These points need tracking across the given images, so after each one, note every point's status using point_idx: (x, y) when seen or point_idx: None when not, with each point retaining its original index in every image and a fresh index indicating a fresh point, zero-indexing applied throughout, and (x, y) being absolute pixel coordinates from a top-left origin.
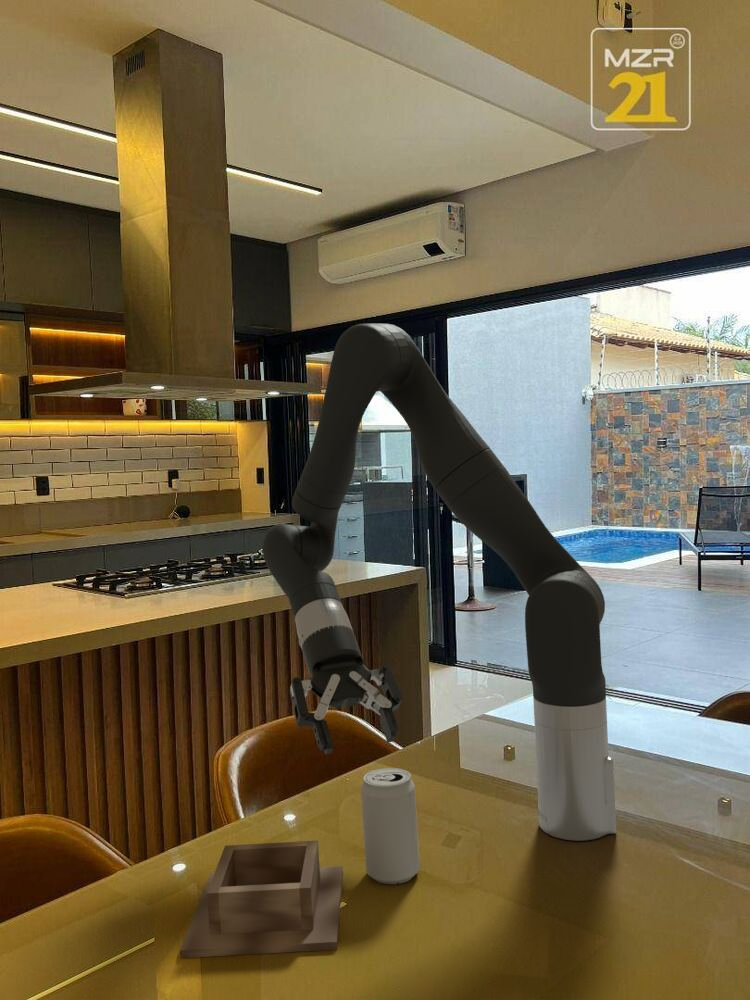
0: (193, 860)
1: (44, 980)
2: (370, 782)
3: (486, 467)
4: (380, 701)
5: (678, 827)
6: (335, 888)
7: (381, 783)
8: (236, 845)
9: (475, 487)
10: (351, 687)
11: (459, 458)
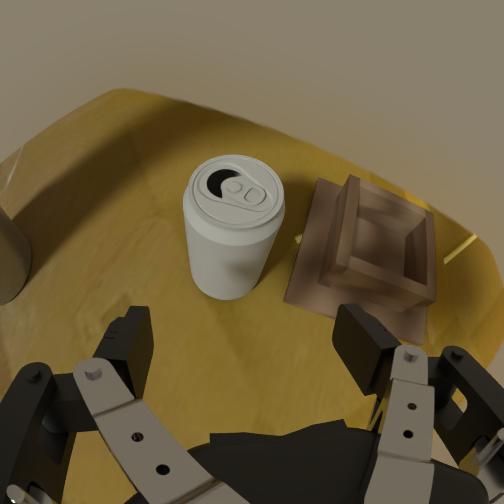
0: None
1: (480, 247)
2: (274, 182)
3: None
4: (115, 384)
5: None
6: (305, 253)
7: (257, 170)
8: (425, 296)
9: None
10: (258, 487)
11: None
